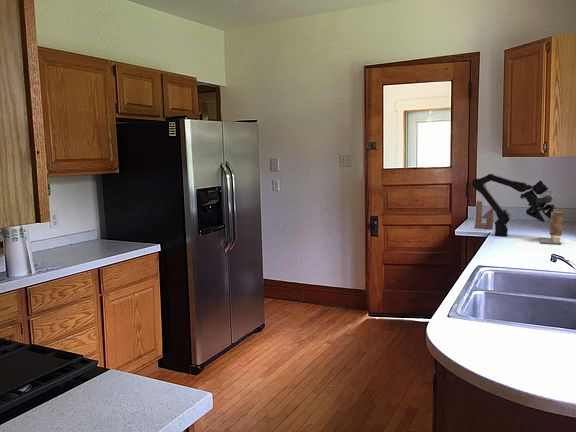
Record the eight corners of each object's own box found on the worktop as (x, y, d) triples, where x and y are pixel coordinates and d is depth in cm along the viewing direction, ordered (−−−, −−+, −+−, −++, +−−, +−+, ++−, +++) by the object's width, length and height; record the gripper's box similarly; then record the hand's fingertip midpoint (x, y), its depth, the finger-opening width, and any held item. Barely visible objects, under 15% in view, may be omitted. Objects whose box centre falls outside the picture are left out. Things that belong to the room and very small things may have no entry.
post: (549, 234, 279) (551, 211, 277) (554, 234, 281) (556, 211, 280) (557, 236, 275) (558, 212, 274) (561, 235, 277) (563, 212, 276)
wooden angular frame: (491, 229, 324) (492, 202, 322) (474, 228, 330) (475, 201, 328) (492, 229, 327) (494, 201, 325) (475, 227, 333) (476, 200, 331)
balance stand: (540, 243, 274) (540, 236, 274) (538, 239, 289) (538, 232, 289) (561, 244, 271) (561, 237, 270) (557, 240, 285) (557, 233, 285)
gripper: (531, 191, 279) (548, 213, 271) (553, 190, 288) (570, 211, 280) (518, 204, 287) (534, 225, 279) (539, 202, 296) (555, 223, 288)
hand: (549, 221), depth 281 cm, fingers open, 9 cm apart
